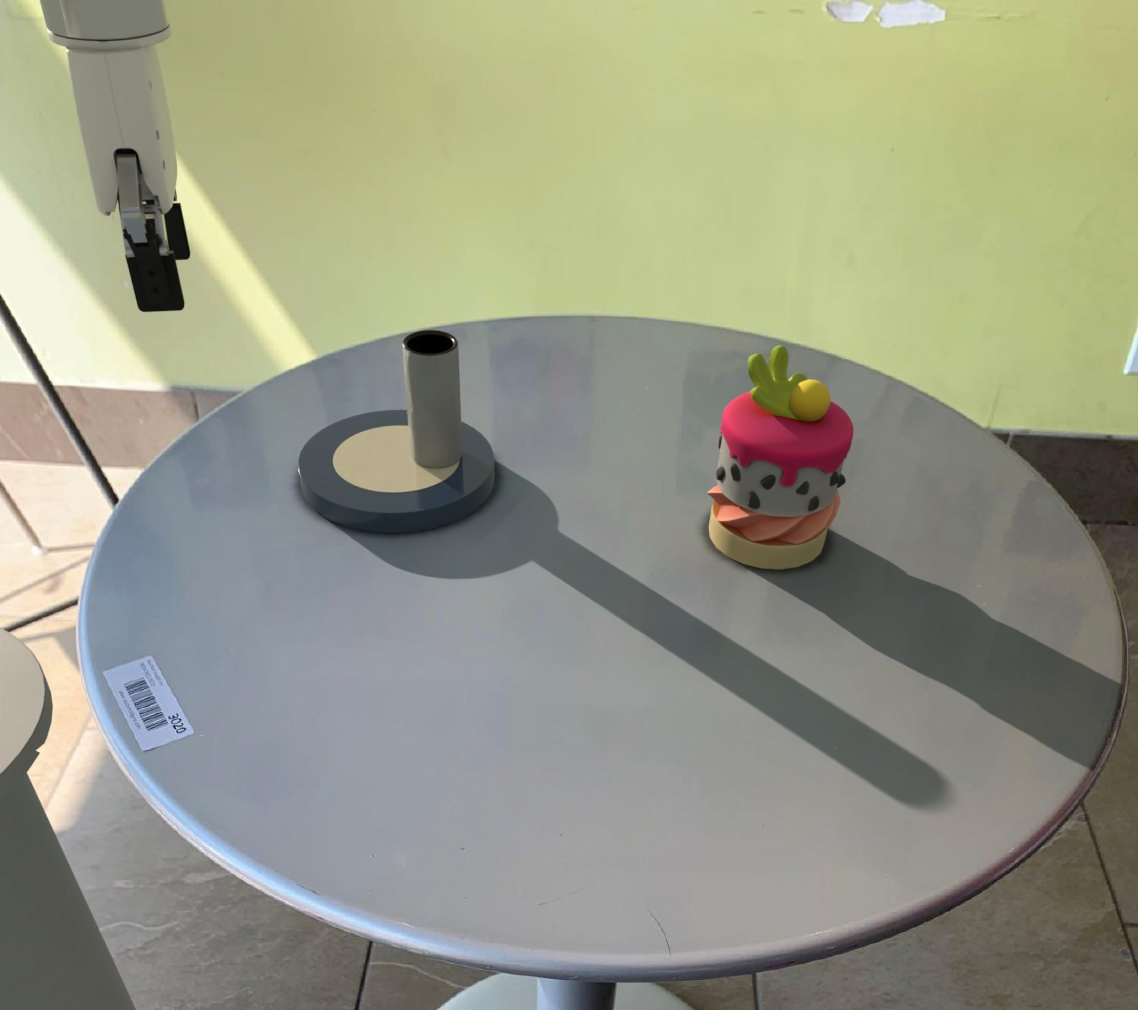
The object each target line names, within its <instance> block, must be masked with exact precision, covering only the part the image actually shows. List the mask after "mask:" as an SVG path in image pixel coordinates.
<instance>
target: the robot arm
mask: <svg viewBox="0 0 1138 1010" xmlns="http://www.w3.org/2000/svg"><path fill="white" fill-rule="evenodd" d="M39 4H40V7H41V12H42V14H43V18H44V23H45V26H46V30H47V36H48V39H49V40H50V41H51V42H52V43H53V44H56V45H58V46H61V47H64V48H65V52H66V58H67V59H66V60H67V67H68V73H69V80H70V85H71V91H72V97H73V102H74V108H75V111H76V117H77V121H78V127H79V131H80V135H81V140H82V144H83V150H84V155H85V158H86V163H87V168H88V173H89V178H90V182H91V187H92V191H93V196H94V200H95V205H96V209H97V210H98V212H99V213H100V214H102V215H104V217H110V216H111V214H112V213H115V212H116V209H117V205H118V212H119V213H118V214H119V218H120V219H119V220H120V225H121V233H122V239H123V246H124V251H125V254H124V257H125V261H126V264H127V268H128V273H129V277H130V281H131V284H132V289H133V293H134V298H135V301H136V305H137V306H136V307H137V309H138V310H139V311H140V312H142V313H157V312H179V311H183V310H184V308H185V297H184V294H183V288H182V283H181V280H180V274H179V270H178V264H177V261H186V260H189V259H190V257H191V248H190V243H189V239H188V233H187V229H186V224H185V220H184V218H185V217H184V215H183V208H182V205H181V202H178V194H177V188H176V187H177V179H178V161H177V153H176V145H175V140H174V131H173V126H172V121H171V114H170V110H169V103H168V99H167V94H166V89H165V84H164V78H163V73H162V69H161V65H160V60H159V55H158V50H157V46H156V45H157V44H160V43H163V42H165V40H168V39H169V38H170V37H171V36H172V29H171V25H170V18H169V14H168V8H167V3H166V0H39Z"/></svg>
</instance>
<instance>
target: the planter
mask: <svg viewBox="0 0 1138 1010" xmlns="http://www.w3.org/2000/svg"><path fill="white" fill-rule="evenodd" d="M401 345H402V346H401V349H402V361H403V362H402V363H403V375H404V385H405V387H404V388H405V400H406V401H405V402H406V410H407V415H408V429H409V442H410V452H411V457H412V459H413V460H414V461H415V462H416V463H417V464H419V465H422V466H425V467H430V468H442V467H447V466H450V465H453V464H455V463H456V462H458V461H459V460H460V458H461V457H462V429H461V421H462V408H461V407H462V406H461V402H462V401H461V380H460V379H461V378H460V377H461V376H460V353H459V341H458V339H457V338H456V336H455V335H453V334H452V333H449V332H447V331H443V330H438V329H425V330H424V329H423V330H418V331H415V332H412V333H410V334H407V335H406V336H405V337H404V338H403V340H402V343H401Z"/></svg>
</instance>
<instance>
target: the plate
mask: <svg viewBox="0 0 1138 1010" xmlns="http://www.w3.org/2000/svg"><path fill="white" fill-rule="evenodd" d="M461 429H462V457H461V458H460V460H459V461H458V462H456V463H455V464H453V465H450V466H447V467H442V468H430V467H425V466H422V465H419V464H417V463H416V462H415V461H414V460H413V459H412V457H411V452H410V442H409V429H408V415H407V409H387V410H386V409H385V410H377V411H370V412H364V413H360V414H356V415H352V416H349V417H345V418H343V419H340V420H338V421H336V422H333V423H331V424H329V425H327V426H325V427H323V428H322V429H320V430H319V431H318V432H316V433H315V434H314V435H312V436H311V437H310V438H309V439H308V440H307V442H306V443H305V444H304V445H303V447H302V449H301V450H300V452H299V456H298V459H297V469H298V475H299V482H300V489H301V492H302V495H303V498H304V499H305V500H306V502H307V504H308V505H309V506H310V507H311V508H312V509H313V510H314V511H315V512H316V513H318V514H319V515H321V516H322V517H323V518H326V519H327V520H329V521H331V522H333V523H336V524H338V525H340V526H343V527H346V528H350V529H354V530H358V531H363V532H370V533H378V534H409V533H416V532H424V531H429V530H433V529H437V528H440V527H444V526H447V525H449V524H452V523H455V522H457V521H459V520H461V519H464V518H465V517H467V516H469V515H470V514H472V513H473V512H475V511H476V510H477V509H478V508H479V507H481V506H483V504H484V503H485V502H486V500H488V498H489V497H490V495H491V493H492V491H493V488H494V486H495V477H496V476H495V475H496V474H495V455H494V451H493V447H492V445H491V444H490V442H489V441H488V440H487V438H486V437H485V436H484V435H483V434H482V433H481V432H480V431H479V430H477V429H476V428H475V427H473V426H471V425H469V424H468V423H466V422H464V421H462V420H461Z"/></svg>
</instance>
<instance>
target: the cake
mask: <svg viewBox="0 0 1138 1010" xmlns="http://www.w3.org/2000/svg"><path fill="white" fill-rule="evenodd" d="M789 357H790V356H789V352H788V349H787V348H786V347H785V346H784V345H781V344H779V345H775V346H774V347H773V348H772V349H771V352H770V354H769V357H768V362H767V361H766V359H765V357H764V355H762V354H761V353H753V354H752V355H750V356H749V357H748V360H747V362H746V363H747V372H748V376H749V378H750V380H751V382H752V384H753V385H754V386H755V387H753V388H751V390H750V391H747V392H744V393H741V394H740V395H739V396H736V397H734V399H733V400H731V401H730V402H729V403H728V404H727V405H726V407H725V408H724V410H723V413H722V417H721V423H720V429H719V434H721V435H720V436H719V437H718V450H719V455H718V461H717V462H718V463H717V469H716V471H715V476H716V485H715V486H714V487H712V488H711V489H710V490H708V491H707V492H706V494H707V495H708V496H709V497H711V498H712V499H713V502H712V503H711V510H710V517H709V522H708V533H709V539H710V540H711V542H712V543H713V545H714V546H715V548H716V549H717V550H718V551H719V552H721V553H722V554H723V555H724V556H726V557H727V558H730V559H731V560H733V561H735V562H738V563H740V564H742V565H745V566H750V567H753V568H758V569H763V570H764V569H765V570H786V569H794V568H799V567H801V566H804V565H806V564H808V563H810V562H813V561H814V560H815V559H816V558H817V557H818V556H819V555H820V554H821V553H822V551H823V549H824V545H825V542H826V537H827V534H828V529H829V528H830V526H831V525H832V523H833V521H834V520H835V518H836V517H837V514H838V510H839V508H840V505H841V498H840V494H839V490H838V489H839V488H841V487H843V486H844V485H845V484H846V483H847V480H846V477H845V475H844V474H842V470H843V466H844V463H845V460H846V459H847V457H848V454H849V452H850V450H851V447H852V444H853V443H852V442H853V438H854V425H853V421H852V419H851V417H850V415H848V413H847V412H846V411H845V409H843V408H842V407H841V406H840V405H839V404H837V403H835V402H834V401H832V400H831V393H830V391H829V388H828V387H827V386H826V385H825V384H824V383H823V382H821V381H819V380H818V379H808V377H807V376H806V375H805V374H803V373H802V372H795V373H793V375H791V376H790V377H789V379H788V374H787V373H788V367H789V361H790V360H789V359H790V358H789Z"/></svg>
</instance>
